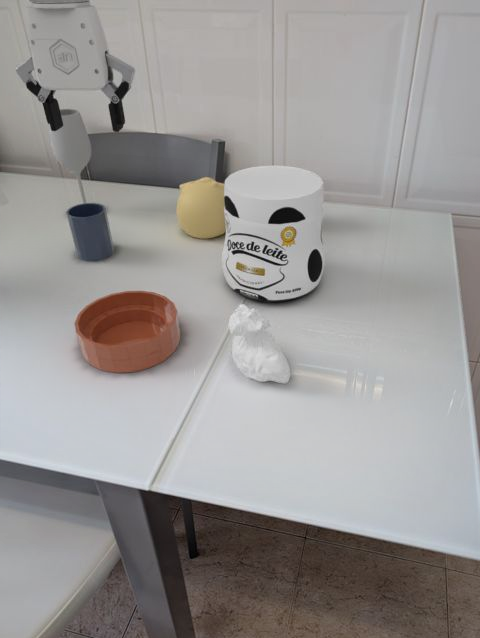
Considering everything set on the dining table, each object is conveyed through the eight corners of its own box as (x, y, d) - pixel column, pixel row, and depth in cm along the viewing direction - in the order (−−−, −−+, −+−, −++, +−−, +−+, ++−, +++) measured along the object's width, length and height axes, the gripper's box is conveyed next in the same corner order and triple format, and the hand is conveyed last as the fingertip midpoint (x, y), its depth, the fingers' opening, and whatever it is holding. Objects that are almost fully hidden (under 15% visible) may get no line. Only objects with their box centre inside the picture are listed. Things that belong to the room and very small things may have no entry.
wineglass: (62, 216, 110) (35, 113, 97) (89, 205, 115) (67, 106, 102) (84, 224, 106) (59, 119, 93) (111, 212, 111) (91, 111, 98)
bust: (238, 358, 74) (188, 322, 66) (273, 321, 73) (228, 280, 65) (278, 408, 65) (227, 374, 57) (318, 368, 65) (272, 327, 57)
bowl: (72, 378, 67) (63, 349, 64) (94, 319, 78) (87, 292, 75) (176, 373, 68) (172, 344, 65) (183, 316, 79) (180, 289, 76)
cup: (74, 264, 92) (62, 218, 87) (82, 247, 98) (71, 203, 92) (111, 263, 93) (101, 217, 87) (117, 246, 98) (108, 202, 92)
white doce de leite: (228, 316, 79) (222, 206, 68) (219, 264, 92) (212, 166, 81) (334, 306, 81) (345, 199, 70) (309, 257, 94) (315, 160, 83)
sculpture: (240, 222, 107) (238, 171, 100) (227, 246, 98) (224, 193, 91) (189, 218, 109) (184, 168, 102) (171, 242, 99) (165, 189, 93)
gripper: (-18, -5, 64) (23, 135, 74) (113, -5, 63) (136, 136, 73) (10, -8, 70) (44, 122, 80) (130, -8, 69) (148, 123, 79)
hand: (88, 129), depth 77 cm, fingers open, 9 cm apart
